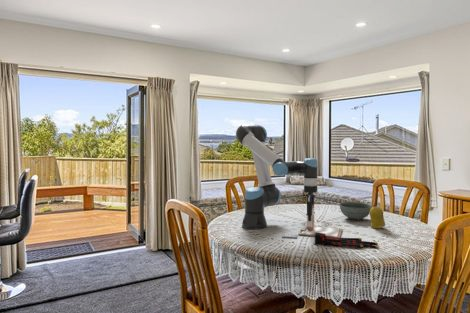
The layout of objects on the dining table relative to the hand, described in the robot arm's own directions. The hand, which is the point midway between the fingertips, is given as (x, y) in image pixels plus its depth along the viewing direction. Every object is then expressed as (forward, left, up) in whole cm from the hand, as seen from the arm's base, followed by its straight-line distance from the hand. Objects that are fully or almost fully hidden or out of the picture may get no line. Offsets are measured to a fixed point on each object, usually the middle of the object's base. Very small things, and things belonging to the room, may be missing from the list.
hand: (310, 225), depth 197 cm
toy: (+21, -21, -4) cm, 30 cm away
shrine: (+36, +20, -4) cm, 41 cm away
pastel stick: (0, 0, -2) cm, 2 cm away
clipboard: (+6, -1, -3) cm, 7 cm away
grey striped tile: (-9, -15, -3) cm, 18 cm away
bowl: (+23, +41, -4) cm, 47 cm away
